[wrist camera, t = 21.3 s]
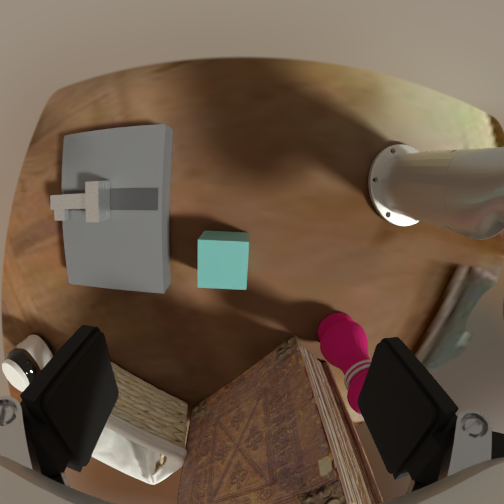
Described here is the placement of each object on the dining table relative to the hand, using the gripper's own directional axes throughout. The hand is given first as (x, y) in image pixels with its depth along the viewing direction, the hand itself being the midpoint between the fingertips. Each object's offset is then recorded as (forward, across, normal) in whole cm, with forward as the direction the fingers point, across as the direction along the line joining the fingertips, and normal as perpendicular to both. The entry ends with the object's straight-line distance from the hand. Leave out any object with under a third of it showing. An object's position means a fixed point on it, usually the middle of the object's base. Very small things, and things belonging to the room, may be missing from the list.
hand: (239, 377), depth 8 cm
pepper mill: (+31, -16, +16) cm, 38 cm away
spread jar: (+31, +42, +29) cm, 60 cm away
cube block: (+30, +2, +4) cm, 31 cm away
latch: (+26, +23, -4) cm, 35 cm away
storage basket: (+31, +21, +35) cm, 51 cm away
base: (+30, +18, -2) cm, 35 cm away
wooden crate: (+31, -4, +29) cm, 42 cm away
